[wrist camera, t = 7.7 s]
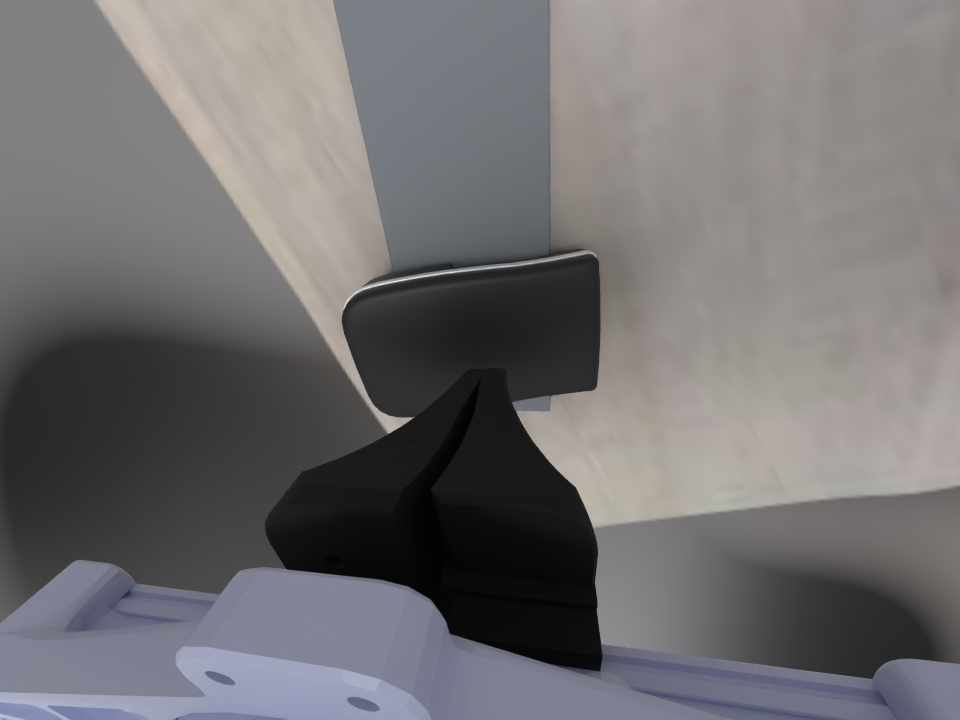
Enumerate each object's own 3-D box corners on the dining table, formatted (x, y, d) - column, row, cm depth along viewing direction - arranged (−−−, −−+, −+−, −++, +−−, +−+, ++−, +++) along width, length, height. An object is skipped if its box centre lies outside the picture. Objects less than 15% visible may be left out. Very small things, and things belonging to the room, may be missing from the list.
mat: (547, -72, 11) (547, -82, 11) (549, 406, 21) (549, 410, 20) (334, -21, 13) (327, -28, 12) (426, 405, 22) (423, 409, 22)
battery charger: (579, 234, 16) (352, 271, 17) (606, 249, 13) (323, 296, 14) (580, 358, 20) (391, 385, 20) (602, 395, 16) (375, 427, 17)
